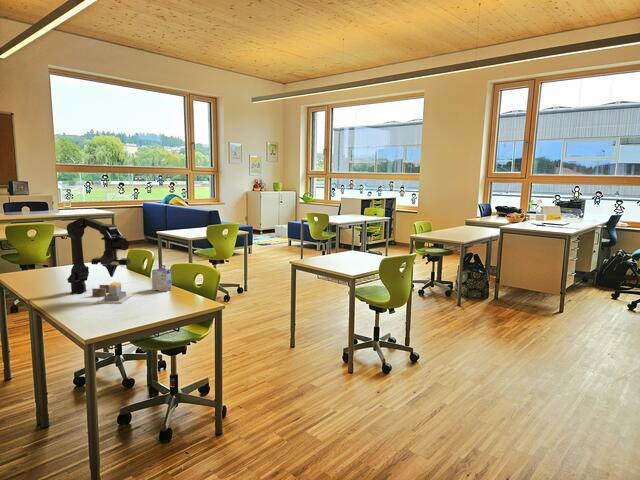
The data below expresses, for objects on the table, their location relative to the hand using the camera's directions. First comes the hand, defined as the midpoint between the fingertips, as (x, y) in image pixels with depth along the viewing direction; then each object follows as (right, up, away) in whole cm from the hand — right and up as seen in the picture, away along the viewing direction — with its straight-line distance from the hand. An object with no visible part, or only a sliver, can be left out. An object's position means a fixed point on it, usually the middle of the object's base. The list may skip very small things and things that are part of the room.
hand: (111, 276), depth 238 cm
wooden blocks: (-9, -10, +9) cm, 16 cm away
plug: (+3, -11, -3) cm, 12 cm away
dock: (+3, -12, -3) cm, 13 cm away
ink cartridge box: (+21, -9, +19) cm, 29 cm away
